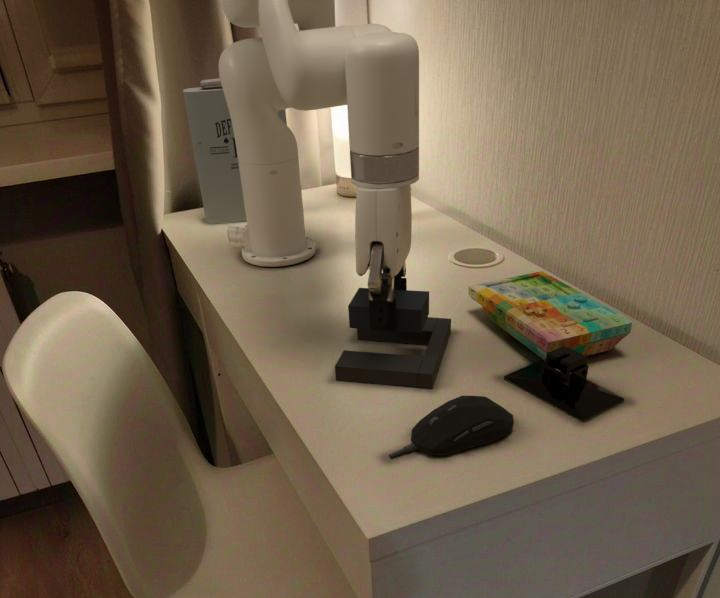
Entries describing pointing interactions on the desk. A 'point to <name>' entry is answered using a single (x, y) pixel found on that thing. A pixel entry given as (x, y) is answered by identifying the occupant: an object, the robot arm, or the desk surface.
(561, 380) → the build plate
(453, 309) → the desk surface
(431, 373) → the charcoal u-shaped block
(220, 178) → the flask
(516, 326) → the puzzle game
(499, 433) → the gaming mouse
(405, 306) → the slate block
